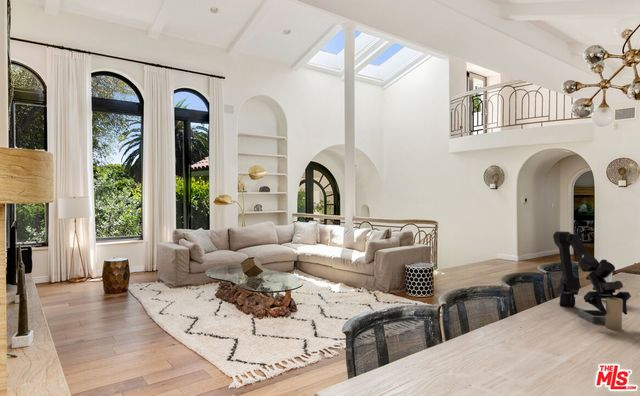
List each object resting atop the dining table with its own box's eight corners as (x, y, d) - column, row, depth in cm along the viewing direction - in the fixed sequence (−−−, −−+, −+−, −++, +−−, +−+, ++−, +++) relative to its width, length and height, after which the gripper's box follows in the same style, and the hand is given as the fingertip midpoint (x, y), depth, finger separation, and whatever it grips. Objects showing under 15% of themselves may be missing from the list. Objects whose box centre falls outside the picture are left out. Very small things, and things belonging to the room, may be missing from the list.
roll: (606, 328, 181) (607, 299, 181) (603, 324, 187) (605, 296, 186) (622, 330, 179) (624, 301, 178) (619, 326, 184) (621, 298, 184)
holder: (578, 315, 199) (578, 309, 198) (598, 316, 199) (598, 310, 199) (592, 322, 189) (593, 316, 188) (613, 323, 189) (614, 316, 189)
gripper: (588, 273, 186) (605, 305, 175) (628, 274, 186) (648, 305, 175) (576, 286, 194) (592, 317, 183) (615, 287, 194) (632, 317, 184)
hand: (616, 314), depth 181 cm, fingers open, 9 cm apart
